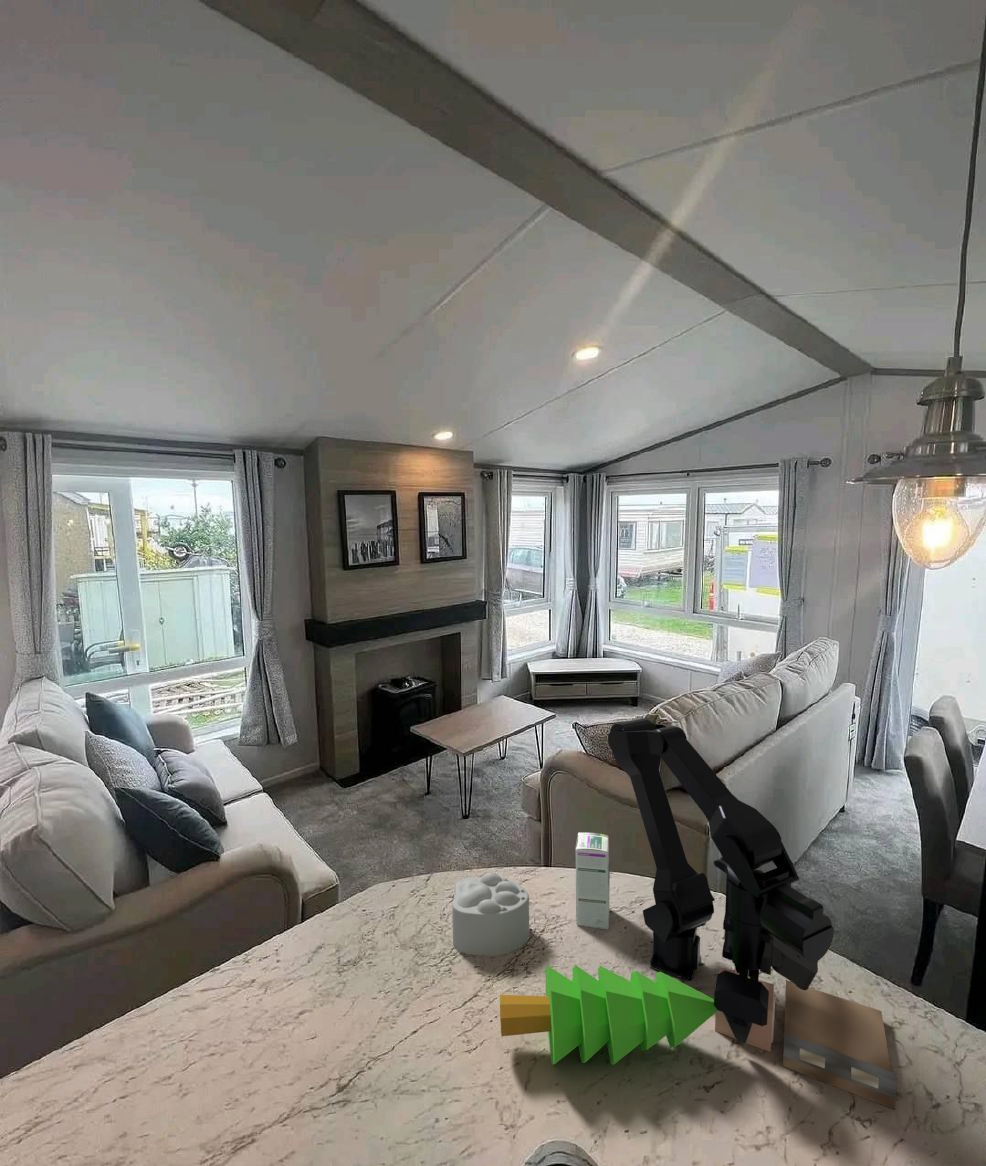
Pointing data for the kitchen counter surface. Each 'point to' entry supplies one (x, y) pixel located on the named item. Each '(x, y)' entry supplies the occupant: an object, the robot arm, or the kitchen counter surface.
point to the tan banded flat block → (838, 1044)
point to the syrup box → (592, 880)
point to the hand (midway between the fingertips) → (744, 1016)
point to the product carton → (757, 1034)
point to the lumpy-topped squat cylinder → (489, 915)
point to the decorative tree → (606, 1012)
